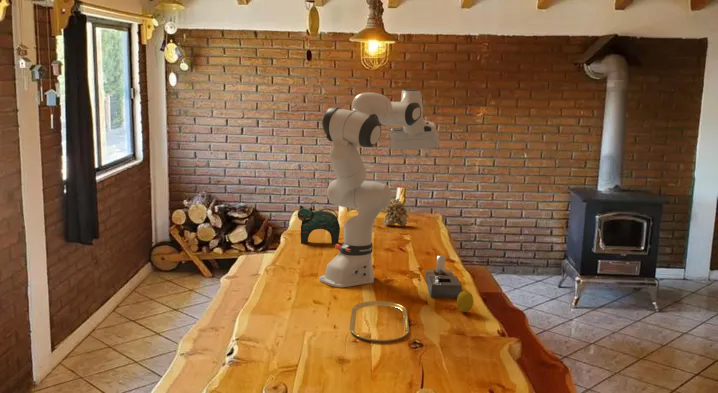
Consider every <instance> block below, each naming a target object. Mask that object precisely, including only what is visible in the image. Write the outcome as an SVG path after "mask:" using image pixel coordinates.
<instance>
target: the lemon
mask: <svg viewBox="0 0 718 393" xmlns="http://www.w3.org/2000/svg"><path fill="white" fill-rule="evenodd" d="M456 304H457V305H456V306H457V308H458V309H459V310H460V311H462V312H463V313H466V312H469V311H470V310H472V308H473V306H474V297H473V294H472V293H471V292H470V291H468V290H467V289H464V290H463V291H462V292H461V293H460V294H459V295H458V298H456Z"/></svg>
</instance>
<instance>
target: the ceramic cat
mask: <svg viewBox="0 0 718 393" xmlns="http://www.w3.org/2000/svg"><path fill="white" fill-rule="evenodd" d="M313 203H316V204H318V205H320V203H319V202H318V201H316V200H315V201H312V202H311V204H310V207H308V206H303V205H300V206H299V209H298V212H297V219H298V220H300V221H301V225H300V244H308V243H309V237H310V235H311V233H312V232H313V231H315V230H324V231H326V232H328V233H329V234H330V240H331V244H334V245H336V244H339V240H340V232H341V231H340V230H341V225H340V222H339V219H338V217H339V216H338V214H337V213H336V211H335V210H333V209H331V208H322V209H318V210H316V209H313V206H312V205H313Z"/></svg>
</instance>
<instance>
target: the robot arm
mask: <svg viewBox="0 0 718 393" xmlns="http://www.w3.org/2000/svg"><path fill="white" fill-rule="evenodd" d="M400 95H401V96H400V101H391V100H390V99H389V98H388V97H387V96H385V95H384V94H381V93H377V92H373V91H372V92H370V91H367V92H361V93H358V94H357V95H356V96H354V98H353V99H352V103H351V110H349V109H345V108H342V107H339V106H335V107H334V106H333V107H330V108H328V109H327V110H326V111H325V112H324V114H323V117H322V122H321V124H322V129H323V132H324V134H325V136H326V139H327V140H328V141H330V142H332V145H331V147H330V148H329V149H330V150H329V159H330V164H331V166H332V170H333V172H334V174H335V175H334V176H335V177H336V179H334V180H332V181H330V182H329V185H328V186H327V191H326V194H327V195H326V196H327V199H328V201H329V203H330V204H332V205H336V206H338V207H342V208H349V209H358V213H357V215H353V216H352V217H350V218H348V219H347V220H346V221H345V223H344V225H343V242H342V244H339V243H338V244H334V248H335V249H336V250H339V252H338V254H336V256H334V257H333V258H332V259H331V261H329V262H328V263H327V265H326V268H325V273H324V274H322V275H320V276H319V279H318V280H319V281H320V282H322V283H323V284H325V285H328V286H332V287H335V288H347V287H353V286H354V287H355V286H359V285H367V284H374V282H375V274H374V269H373V267H374V266H373V258H372V257H373V256H372V253H373V249H374V247H373V246H374V245H373V242H372V239H373V231H374V230H373V227H374V223H375V220H376V219H377V217H378V216H379V215H380V214H381V212H383V211H384V210H386V208H387V207H388V206H389V204H390V202H391V201H392V200H393V199H392V198H393V197H392V195H393V194H392V190H391V188H390V187H389V185H387V184H385V183H382V182H380V181H373V180H372V181H371V180H366V178H367V171H366V168H365V165H364V162H363V160H362V156H361V155H360V153H359V150H358V147H357V146H361V147H362V148H373V147H374V146H375V145H377V144H378V142H379V140H380V138H381V134H382V127H381V126H397V127H392V128H391V129H390V130H389V137H390V138H391V142H390V145H391V146H390V147H391V149H392V150H393V151H395V150H396V151H397V150H398V151H399V152H400V153H401V155H402V157H403V160H407V159H408V153H405V150H413V149H414V150H415V149H427V152H425V158H427V159H428V158H430V153H431V151H432V148H438V147H439V145H440V137H439V133H438V130H437V129H436V124H435V122H433V121H428V120H425V118H424V114H423V111H424V105H423V98H422V93H421V91H420V90H419V89H417V88H406V89H402V90H401V94H400ZM400 126H401V127H400Z"/></svg>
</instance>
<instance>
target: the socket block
mask: <svg viewBox="0 0 718 393" xmlns="http://www.w3.org/2000/svg"><path fill="white" fill-rule="evenodd" d="M424 275H425V279H424V280H425V282H426V284H427V286H428V276H455V275H454V273H453V270H451V269H444V275H436V269H428V268H427V269H425V274H424Z"/></svg>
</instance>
